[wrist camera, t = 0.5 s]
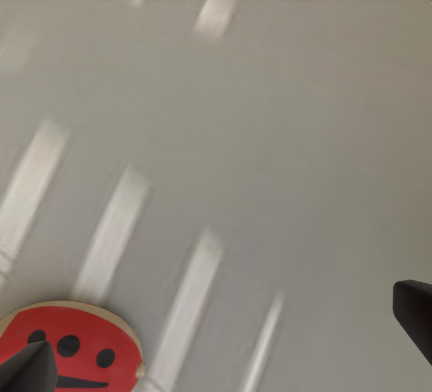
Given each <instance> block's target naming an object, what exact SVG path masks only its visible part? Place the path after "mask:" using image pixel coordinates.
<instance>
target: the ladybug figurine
mask: <svg viewBox="0 0 432 392" xmlns="http://www.w3.org/2000/svg"><path fill="white" fill-rule="evenodd" d="M40 341H49V342H50V343H51V345H52V348H53V352H54V356H55V360H56V364H57V369H58V379H57V384H56V388H55V392H131V391H132V390H133V388H134V387H135V385H136V384H137V382H138V380H139V378H140V377H143V376H144V375H145V373H146V369H147V365H146V363H145V362H144V361H143V359H144V357H143V349H142V345H141V342H140V340H139V338H138V336H137V334H136V333H135V331H134V330H133V329H132V328H131V327H130V326H129V325H128V324H127V323H126V322H125V321H124V320H123V319H121V318H120V317H118V316H117V315H115V314H113V313H112V312H109V311H107V310H105V309H103V308H100V307H97V306H94V305H90V304H86V303H81V302H73V301H48V302H41V303H36V304H32V305H29V306H26V307H23V308H20V309H18V310H16V311H14V312H12V313H10V314H8V315H6V316H5V317H3V318H2V319H0V364H2V363H3V362H5V361H6V360H7V359H9V358H10V357H12V356H13V355H15V354H16V353H17V352H19V351H20V350H22V349H23V348H25V347H26V346H27V345H29V344H31V343H34V342H40Z"/></svg>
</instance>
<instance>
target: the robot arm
mask: <svg viewBox="0 0 432 392" xmlns="http://www.w3.org/2000/svg"><path fill="white" fill-rule="evenodd" d="M393 313H394V316H395V318H396V319H397V321H398V322H399V323H400V325H401V326H402V327H403V329H404V330H405V331H406V333H407V334H408V335H409V337H410V338H411V339H412V340H413V342H414V343H415V344H416V346H417V347H418V348H419V350H420V351H421V352H422V354H423V355H424V356H425V358H426V359H427V360H428V362H429V363H430V364H431V365H432V285H431V284H427V283H423V282H419V281H414V280H404V281H398V282H396V283H395V284H394V287H393ZM57 379H58V369H57V364H56V360H55V356H54V352H53V348H52V345H51V343H50V342H49V341H40V342H34V343H31V344H29V345H27V346H26V347H25V348H23V349H22V350H20V351H19V352H17V353H16V354H15V355H13V356H12V357H10V358H9V359H7V360H6V361H5V362H3V363H2V364H0V392H55V388H56V384H57Z"/></svg>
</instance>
